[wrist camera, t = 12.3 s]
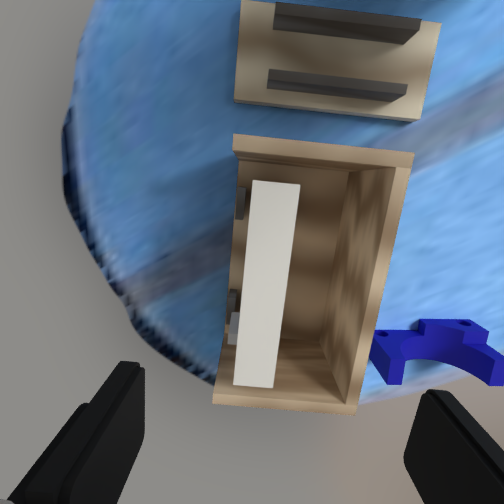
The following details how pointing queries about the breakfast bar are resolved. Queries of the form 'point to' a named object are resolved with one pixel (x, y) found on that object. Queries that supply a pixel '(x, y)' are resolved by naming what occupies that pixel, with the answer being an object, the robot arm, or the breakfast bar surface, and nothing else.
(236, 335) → the door
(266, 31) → the door stand
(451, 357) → the cable clip
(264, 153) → the cabinet
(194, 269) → the breakfast bar surface
